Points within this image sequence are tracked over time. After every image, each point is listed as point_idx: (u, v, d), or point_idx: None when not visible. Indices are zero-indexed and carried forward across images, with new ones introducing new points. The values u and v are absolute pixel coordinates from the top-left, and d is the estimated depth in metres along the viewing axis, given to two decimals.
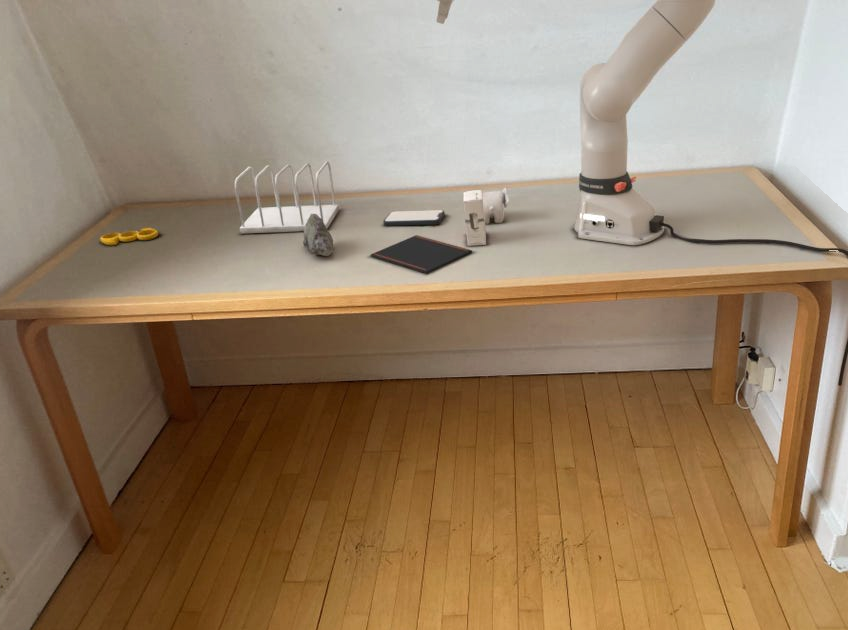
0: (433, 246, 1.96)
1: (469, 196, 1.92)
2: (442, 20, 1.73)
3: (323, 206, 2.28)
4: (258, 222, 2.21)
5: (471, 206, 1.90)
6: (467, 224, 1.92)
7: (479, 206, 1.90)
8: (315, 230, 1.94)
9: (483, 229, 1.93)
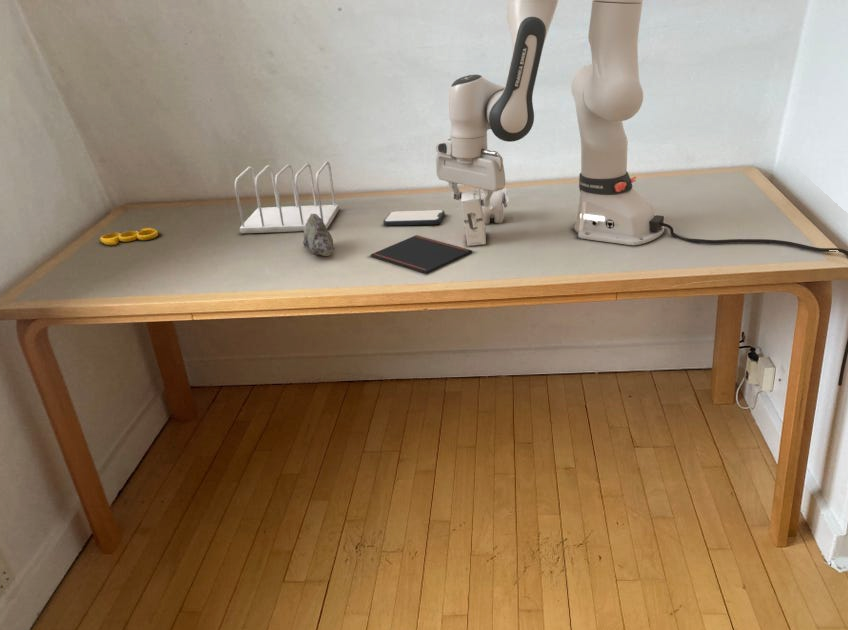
0: (433, 246, 1.96)
1: (467, 196, 1.92)
2: (488, 203, 1.90)
3: (323, 206, 2.28)
4: (258, 221, 2.21)
5: (468, 206, 1.90)
6: (466, 224, 1.92)
7: (477, 206, 1.90)
8: (315, 230, 1.94)
9: (482, 229, 1.93)
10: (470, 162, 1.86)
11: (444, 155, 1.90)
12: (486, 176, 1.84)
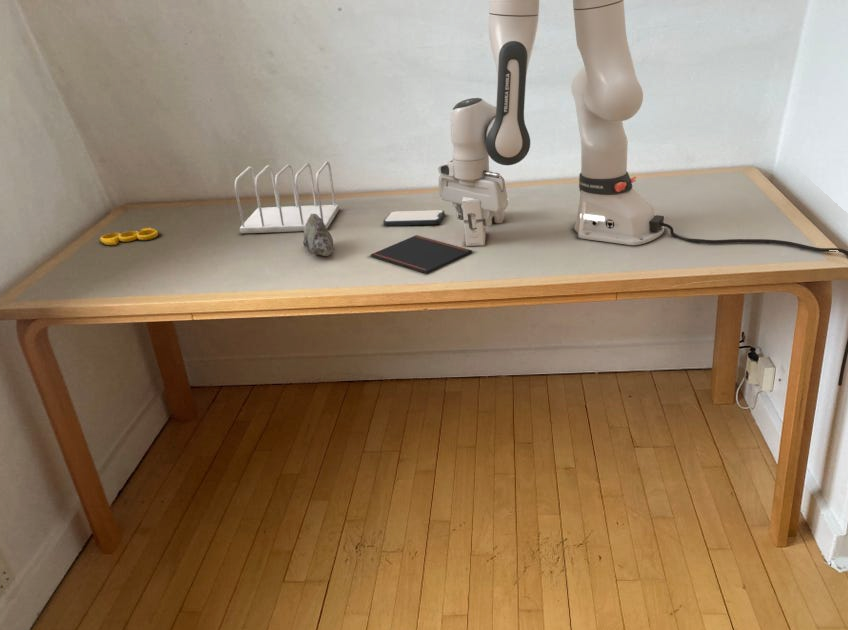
0: (433, 246, 1.96)
1: None
2: (490, 222, 1.93)
3: (323, 206, 2.28)
4: (258, 221, 2.21)
5: (469, 206, 1.90)
6: (465, 224, 1.92)
7: (477, 206, 1.90)
8: (315, 230, 1.94)
9: (481, 229, 1.93)
10: (472, 183, 1.88)
11: (446, 176, 1.93)
12: (488, 197, 1.87)
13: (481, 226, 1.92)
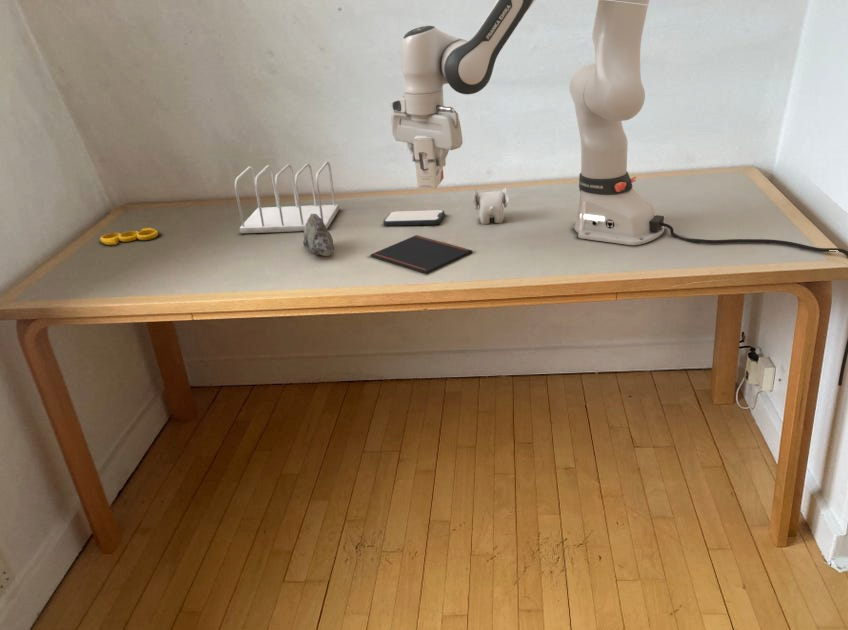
0: (433, 246, 1.96)
1: None
2: (444, 163, 1.81)
3: (323, 206, 2.28)
4: (258, 221, 2.21)
5: (420, 144, 1.78)
6: (417, 164, 1.81)
7: (429, 145, 1.78)
8: (315, 230, 1.94)
9: (433, 171, 1.80)
10: (425, 119, 1.76)
11: (399, 113, 1.81)
12: (442, 134, 1.75)
13: (433, 167, 1.80)
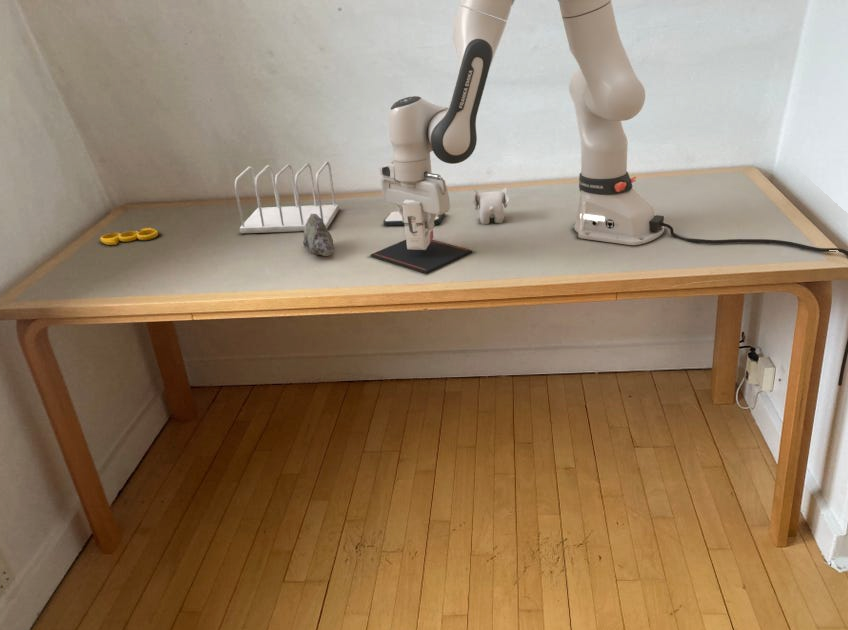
0: (433, 246, 1.96)
1: None
2: (432, 225, 1.86)
3: (323, 206, 2.28)
4: (258, 221, 2.21)
5: (409, 209, 1.83)
6: (406, 227, 1.86)
7: (417, 209, 1.83)
8: (315, 230, 1.94)
9: (422, 233, 1.86)
10: (413, 185, 1.81)
11: (388, 178, 1.86)
12: (430, 200, 1.80)
13: (421, 230, 1.85)
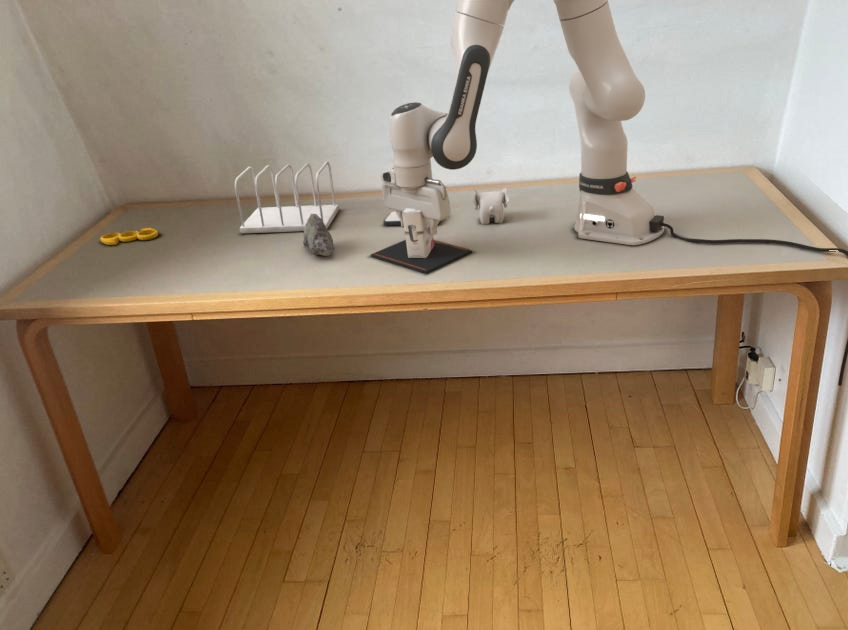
0: None
1: None
2: (435, 231, 1.86)
3: (323, 206, 2.28)
4: (258, 221, 2.21)
5: (409, 218, 1.84)
6: (406, 236, 1.87)
7: (417, 218, 1.84)
8: (315, 230, 1.94)
9: (422, 242, 1.87)
10: (414, 191, 1.82)
11: (389, 184, 1.87)
12: (430, 205, 1.81)
13: (422, 238, 1.86)
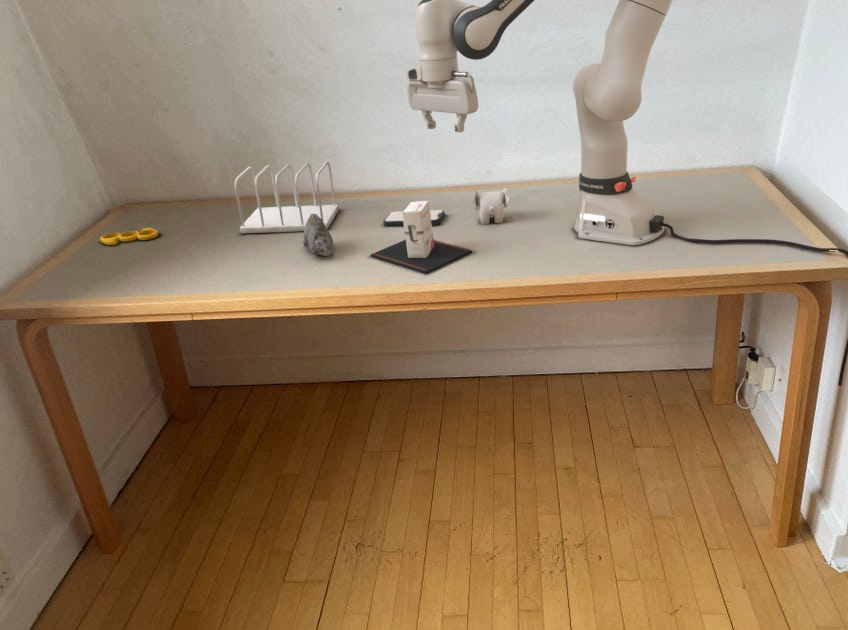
0: None
1: (411, 207, 1.87)
2: (462, 128, 1.85)
3: (323, 206, 2.28)
4: (258, 221, 2.21)
5: (409, 218, 1.84)
6: (406, 236, 1.87)
7: (417, 218, 1.84)
8: (315, 230, 1.94)
9: (422, 242, 1.87)
10: (441, 86, 1.81)
11: (414, 82, 1.85)
12: (458, 99, 1.79)
13: (422, 238, 1.86)
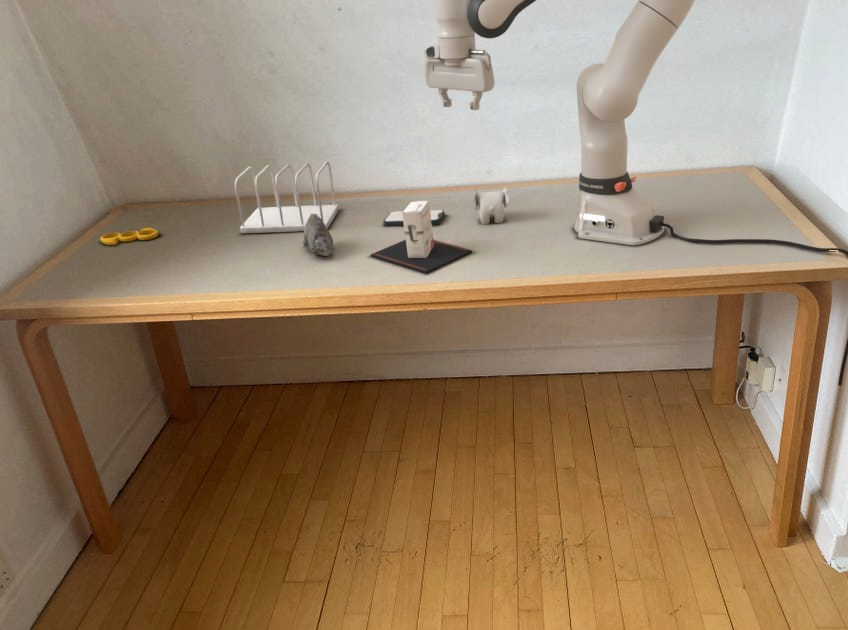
0: None
1: (411, 207, 1.87)
2: (478, 106, 1.89)
3: (323, 206, 2.28)
4: (258, 221, 2.21)
5: (409, 218, 1.84)
6: (406, 236, 1.87)
7: (417, 218, 1.84)
8: (315, 230, 1.94)
9: (422, 242, 1.87)
10: (458, 64, 1.84)
11: (432, 59, 1.89)
12: (474, 77, 1.83)
13: (422, 238, 1.86)
